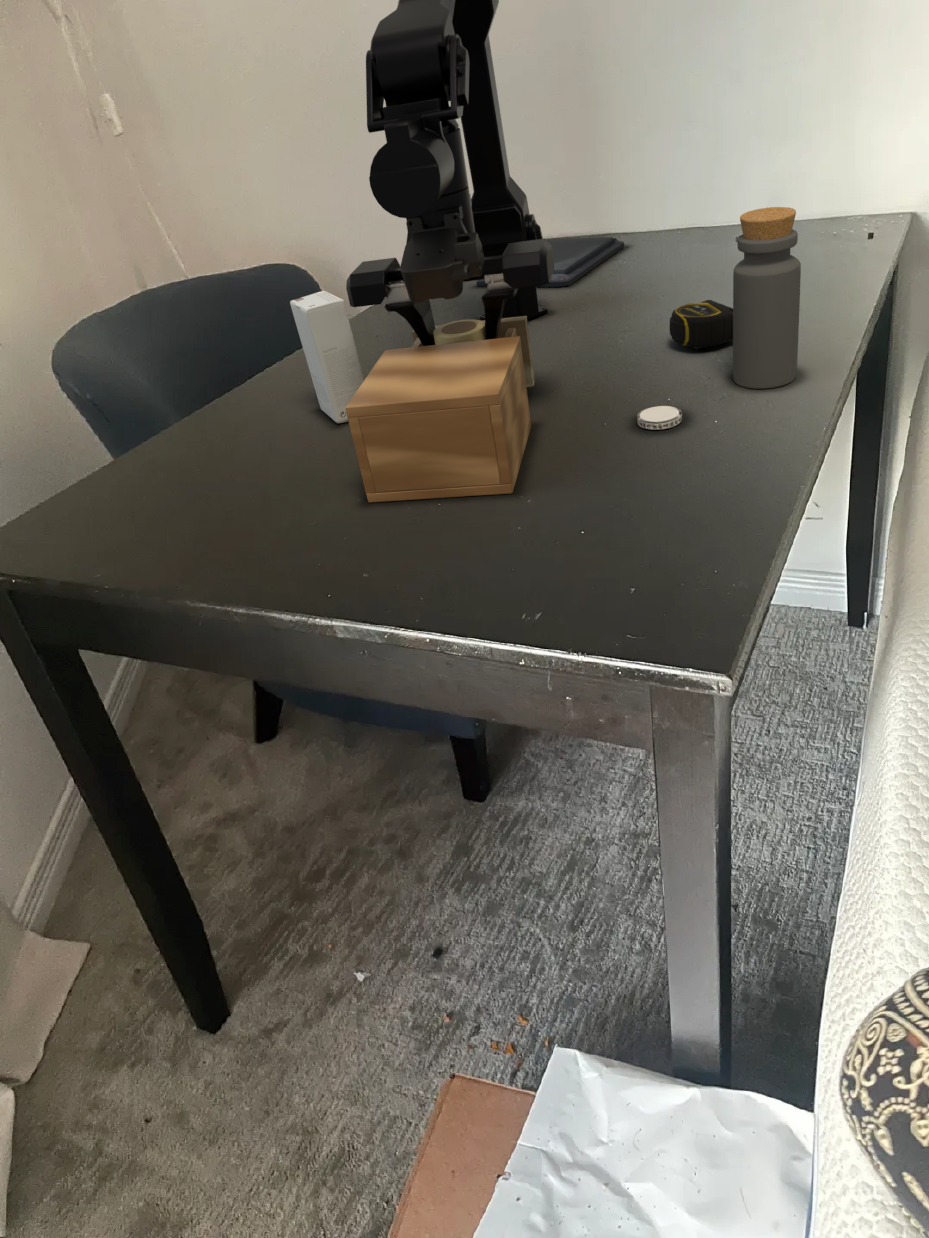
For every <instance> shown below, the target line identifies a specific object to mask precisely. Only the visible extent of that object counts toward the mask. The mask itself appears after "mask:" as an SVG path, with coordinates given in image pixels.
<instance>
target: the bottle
mask: <svg viewBox="0 0 929 1238" xmlns="http://www.w3.org/2000/svg"><path fill="white" fill-rule="evenodd" d="M796 214H797V210H796V209H795V208H793V207H789V206H788V207H786V206H771V207H763V208H762V207H761V208H757V209H753V210H748V211H746V212H744V213H742V214H741V215H740V217H739V222H740V226H741V230H742V234H741V235H739V236H738V237H737V244H736V245H737V250H738V251H739V252H742V253H743V259H742V260H740V261H739V262H737V263H736V265H735V266H734V268H733V273H732V291H733V292H732V308H733V339H732V374H733V375H732V376H733V377H732V378H733V381H734V383H735V384H736V385H738V386H740V387H743V388H747V389H748V388H749V389H755V390H757V389H758V390H760V389H772V388H773V389H774V388H778V387H782V386H785V385H788V384H790V383H792V382H793V381H795V379H796V378H797V374H798V373H797V370H798V355H799V354H798V353H799V331H800V330H799V329H800V328H799V327H800V307H801V306H800V303H801V278H802V277H801V274H802V273H801V272H802V264H801V262H800V260H799V259H798V258H797V257H795V256H794V255H792V254H791V249H792V248H794V247H795V246H796V245H798V241H799V239H798V238H799V237H798V236H799V234H798V231H797V230H796V229H794V224H795V220H796Z"/></svg>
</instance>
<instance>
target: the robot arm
mask: <svg viewBox="0 0 929 1238" xmlns="http://www.w3.org/2000/svg"><path fill="white" fill-rule="evenodd" d="M499 3H500V0H398V1H397V6H396V8H395V10H394V11H392V12H390V13H389V14H388V15H387V16H385V17H384V18H383V19H381V20H380V21H379V22H378V24H377V26H376V28H375V30H374V33H373V35H372V38H371V41H370V47H369V48H370V49H368V50H367V51H366V54H365V87H366V88H365V93H366V94H365V95H366V96H365V97H366V128H367V132H368V133H369V134H372V133H377V132H384V135H385V140H386V143H384V145H382V146H381V147H380V148H379V149H378V150H377V152H376V153H375V155H374V156H373V158H372V161H371V164H370V168H369V177H368V180H369V187H370V189H371V193H372V195H373V197H374V199H375V200H376V202H377V204H378V205H379V206H380V207H381V208H382V209H383V210H385V211H386V212H387V213H389V214H390V215H391V216H394V217H397V218H400V219H406V223H405V224H406V230H407V236H406V242H405V243H406V244H405V245H404V249H403V254H402V257H401V261H400V262H399V260H398V259H397V257H389V258H381V259H373V260H365V261H362V262H361V263H360V264H358V266H356V268H355V269H354V270H353V271H352V272H351V273H350V274H349V276H348V278H347V279H346V284H345V285H346V286H345V289H346V294H347V298H348V299H347V300H348V302H349V307H352V308H361V307H368V306H377V305H381V304H382V303H383V302H384V300H385V302H386V304H385V305H384V309H385V311H386V312H388V313H391V312H395V313H397V314H398V315H399V316H401V317H402V318H404V320H405V321H406V322H407V323H408V325H409V326H410V328H411V329H412V331H413V330H414V331H415V333H416V335H417V336H418V338H419V340H420V341H421V343H422V345H423V346H430V345H435V340H434V335H433V331H434V330H435V326H436V325H435V319H434V316H433V310H432V305H431V301H430V300H437V299H444V300H453V299H456V298H458V297H459V296H460V295H462V293H463V291H464V283H465V282H466V283H467V282H473V281H478V280H483V279H484V280H485V286H484V288H485V289H484V292H483V294H482V296H481V301H482V305H483V310H484V313H483V314H480V315H479V320H481V321H483V320H485V332H486V340H488V339H498V334H499V329H500V323H501V319H502V318H511V317H520V316H527V321H528V320H531V319H535V318H536V317H539V316H542V315H545V314H547V313H548V312H549V311H548V310H549V309H548V307H545V306H540V305H539V301H538V300H539V299H538V291H537V287H536V286H543V285H545V284H548V283H549V281H550V279H551V276H552V273H553V270H554V259H553V250H552V246H551V244H550V243H549V242H548V241H547V240H546V238H544V237H543V233H542V228H541V226H540V225H539V224H538V223H537V220H536V217H535V214H534V213H530V208H529V203H528V197H527V195H526V193H525V192H524V190H522V188H521V187H520V186H519V185H518V184H517V183H516V181H515V180H514V179H513V178H512V176H511V174H510V173H511V172H510V167H509V160H508V154H507V149H506V148H507V147H506V141H505V135H504V128H503V122H502V114H501V108H500V102H499V95H498V88H497V82H496V75H495V68H494V62H493V61H494V60H493V55H492V48H491V41H490V31H491V28H492V25H493V22H494V19H495V16H496V13H497V10H498V8H499V7H498V6H499ZM384 104H385V106H384ZM458 119H460V122H461V127H459V125H460V124H459V123H458V122H457V120H458ZM461 128H462V133H463V139H462V133H461ZM463 140H464V144H465V148H466V149H465V150H466V156H467V162H468V166H469V172H470V178H471V185H472V189H473V193H472V195H471V193H470V188H469V181H468V180H469V179H468V174H467V173H468V172H467V166H466V160H465V152H464V147H463V146H464V145H463Z"/></svg>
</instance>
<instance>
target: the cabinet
mask: <svg viewBox="0 0 929 1238" xmlns="http://www.w3.org/2000/svg"><path fill="white" fill-rule="evenodd" d="M527 388H528V387H526V380H525V372H524V364H523V357H522V349H521V340H520V336H517V337H507V338H498V339H488V340H478V341H469V342H459V343H449V344H439V345H430V346H420V347H412V346H410V347H402V348H393V349H385V350H384V351H383V353H382V354H381V355H380V357H379V358H378V360H377V361H376V363H375V364H374V365H373V367H372V369H371V370H370V372H368V375H366V377H365V378H364V382H363V383H362V384H361V386H360V387H359V389H358V390H357V392H356V393H355V394H354V396H353V397H352V399H351V400H350V402H349V403H348V404H347V406H346V407H345V409H346V413H347V417H348V425H349V430H350V434H351V437H352V442H353V447H354V450H355V455H356V458H357V459H356V460H357V463H358V466H359V470H360V474H361V475H360V476H361V479H362V483H363V487H364V493H365V495H366V499H367V503H369V504H370V503H383V502H384V503H385V502H399V501H400V502H401V501H402V502H403V501H415V500H429V499H430V500H431V499H433V500H434V499H446V498H462V497H478V496H492V495H493V496H495V495H510V494H513V493H514V489H515V486H516V482H517V479H518V475H519V471H520V468H521V464H522V461H523V457H524V453H525V451H526V446H527V443H528V439H529V436H530V433H531V429H532V420H531V411H530V404H529V397H528V389H527Z"/></svg>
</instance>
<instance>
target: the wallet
mask: <svg viewBox="0 0 929 1238" xmlns="http://www.w3.org/2000/svg"><path fill="white" fill-rule="evenodd" d="M545 239H546V238H545ZM546 240H547V241H548V242H549V243H550V244H551V246H552V250H553V259H554V270H553V273H552V276H551V279H550V281H549V283H548V284H545V285H543V286H536V288H563V287H570V286H571V285H573V284H574V283H576V282H577V281H578V280H580V279H582V278H583V277H584V276H586V275H587V274H588V273H589V272H591V271H592V270H593V269H595V268H597V267H598V266H599V265H601V264H602V263H604V262H605V261H606V260H608V259H610V258H611V257H613V256H614V255H616V254H617V253H618V252H620V251H621V250H622V249H623V248H624V247H625V242H624V241H622V240H619V239H617V238H616V237H613V236H611V237H610V236H606V237H605V236H604V237H603V236H598V237H597V236H596V237H594V236H593V237H568V238H567V237H566V238H563V237H562V238H547V239H546ZM476 287H485V280H484V279H483V280H476Z"/></svg>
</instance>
